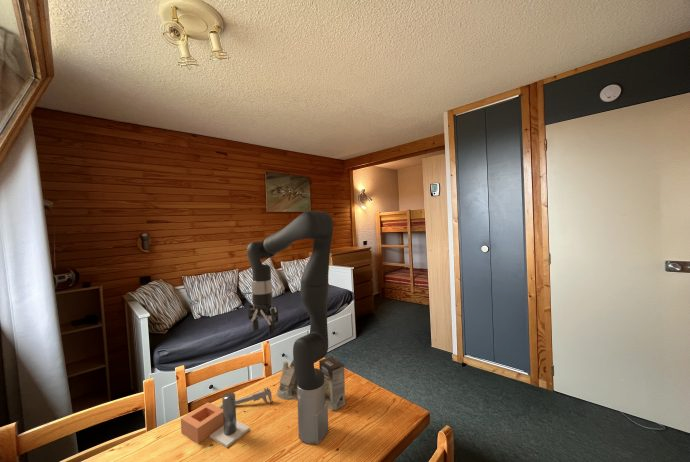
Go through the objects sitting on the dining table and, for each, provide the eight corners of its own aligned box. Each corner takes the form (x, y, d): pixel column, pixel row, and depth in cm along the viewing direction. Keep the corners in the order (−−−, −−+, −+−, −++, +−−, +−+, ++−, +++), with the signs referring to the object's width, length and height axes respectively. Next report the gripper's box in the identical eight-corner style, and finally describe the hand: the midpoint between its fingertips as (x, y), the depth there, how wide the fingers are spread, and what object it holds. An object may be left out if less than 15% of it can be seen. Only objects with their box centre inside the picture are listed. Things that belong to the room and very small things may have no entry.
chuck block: (225, 424, 97) (224, 410, 97) (198, 443, 88) (197, 428, 88) (208, 415, 102) (208, 402, 102) (181, 432, 93) (180, 418, 93)
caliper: (271, 401, 110) (271, 386, 110) (271, 403, 108) (270, 387, 108) (218, 407, 107) (218, 391, 107) (217, 409, 106) (217, 393, 106)
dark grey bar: (239, 429, 93) (237, 394, 93) (229, 437, 90) (227, 401, 89) (231, 425, 95) (230, 391, 95) (221, 432, 92) (219, 398, 91)
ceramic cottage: (271, 393, 115) (273, 358, 115) (301, 377, 127) (302, 346, 127) (295, 410, 105) (297, 371, 105) (324, 391, 118) (326, 357, 117)
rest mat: (249, 429, 94) (249, 427, 94) (226, 447, 86) (226, 445, 86) (233, 420, 99) (232, 418, 99) (209, 437, 91) (209, 435, 91)
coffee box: (319, 400, 109) (318, 360, 109) (332, 394, 113) (331, 355, 113) (332, 411, 102) (331, 369, 102) (345, 404, 106) (344, 363, 106)
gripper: (282, 290, 107) (283, 331, 107) (256, 288, 114) (258, 326, 114) (268, 295, 101) (269, 338, 101) (242, 291, 108) (243, 332, 108)
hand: (263, 331), depth 107 cm, fingers open, 8 cm apart
